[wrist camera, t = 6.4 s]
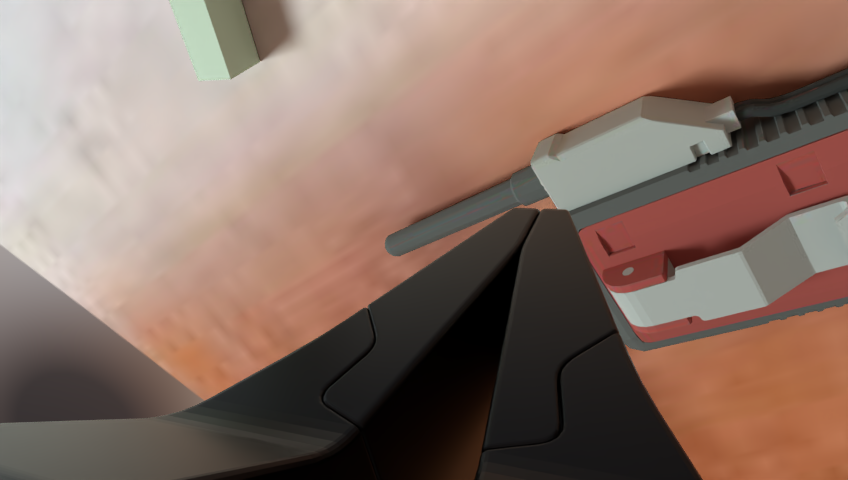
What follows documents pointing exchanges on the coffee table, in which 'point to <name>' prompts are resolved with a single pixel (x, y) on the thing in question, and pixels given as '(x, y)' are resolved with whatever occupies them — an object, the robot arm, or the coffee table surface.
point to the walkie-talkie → (693, 209)
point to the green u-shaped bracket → (216, 37)
